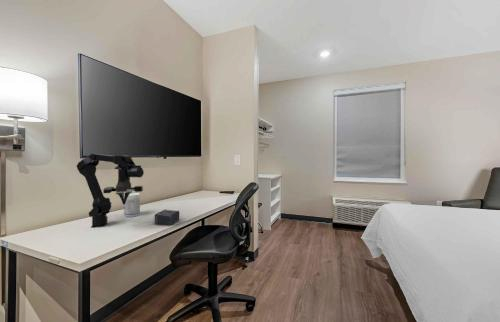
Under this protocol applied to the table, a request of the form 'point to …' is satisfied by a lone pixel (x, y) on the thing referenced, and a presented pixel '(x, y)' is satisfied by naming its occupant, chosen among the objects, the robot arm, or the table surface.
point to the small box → (166, 217)
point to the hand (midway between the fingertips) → (124, 204)
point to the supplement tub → (132, 205)
